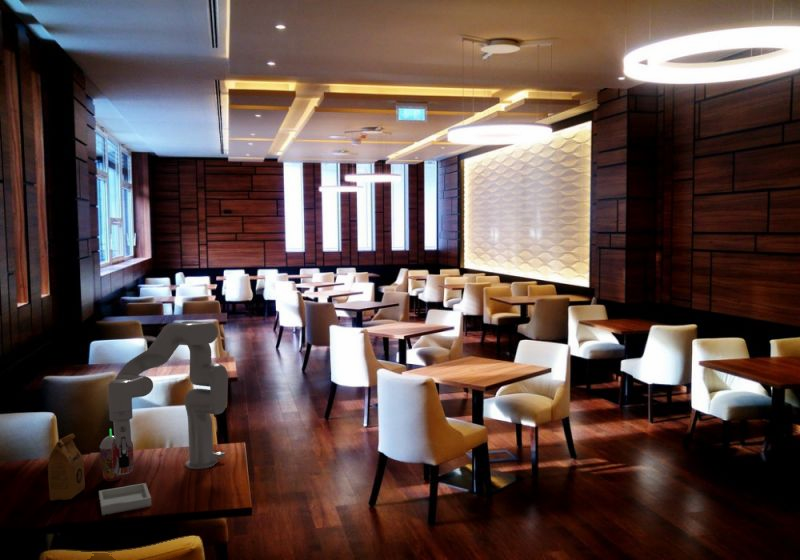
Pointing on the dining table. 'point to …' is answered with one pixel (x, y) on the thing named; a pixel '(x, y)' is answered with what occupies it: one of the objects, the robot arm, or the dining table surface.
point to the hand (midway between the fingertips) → (123, 463)
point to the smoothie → (108, 458)
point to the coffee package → (65, 470)
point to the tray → (124, 498)
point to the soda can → (116, 460)
